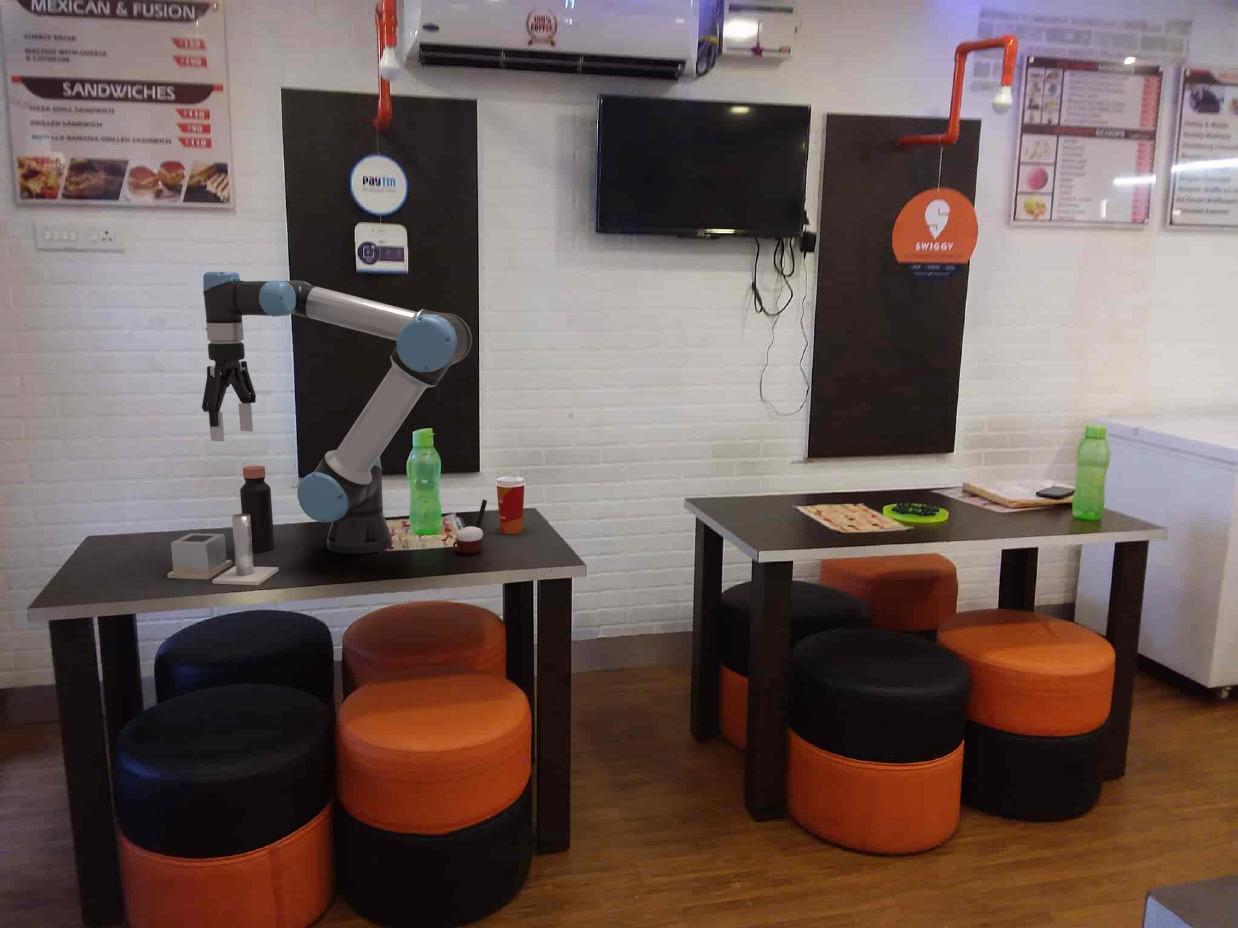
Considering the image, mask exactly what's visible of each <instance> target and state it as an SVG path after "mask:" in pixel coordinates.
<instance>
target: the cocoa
mask: <svg viewBox="0 0 1238 928" xmlns="http://www.w3.org/2000/svg"><path fill="white" fill-rule="evenodd" d="M487 503H488V499H487V500H486V499H482V501H481V505H480V509H479V512H478V517H477V520H476V523H475V526H466V527H463V528H462V529H459V530H458V531H456V533H455V541H454V542H453V544H452V547H453V549H454V551H456V552H458V553H460V554H463V555H468V556H469V555H475V554H477V553H478V552H480V551H481V549H482V545H483V536H484V532H483V529H481V527H482V523H483V518H484V515H485V511H486V508H487Z"/></svg>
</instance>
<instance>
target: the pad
mask: <svg viewBox="0 0 1238 928" xmlns="http://www.w3.org/2000/svg"><path fill="white" fill-rule="evenodd" d="M278 572H279V567H277V566H276V567H274V566H254V573H253V574H252V575H248V576H238V575H236V565H235V566H232V567H231V568H230V569H228V570H227V571H225V572H223V573H221V574H220V575H218V576H216V577H215V578H214V579H212V584H214V585H215V584H217V585H218V584H219V585H237V586H238V585H240V586H241V585H244V586H259V585H261V584H262V583H263V582H265V581H266V580H267V579H269V578H271V577H272V576H273V575H275V574H277V573H278Z"/></svg>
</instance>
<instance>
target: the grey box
mask: <svg viewBox="0 0 1238 928" xmlns="http://www.w3.org/2000/svg"><path fill="white" fill-rule="evenodd" d="M225 536H226V535H225V534H224V533H196V532H195V533H194V532H189V533H188V534H186V535H183V536H181V537H180V538H178V539H176V540H174V541H172V542H170V547H171V548H170V549H171V558H172V559H171V560H172V561H171V563H172V570H171V571H169V572H167V573H166V575H167V579H180V580H181V579H184V580H205V581H206V580H209V579H211V578H213V577H214V576H215V575H218V574H219V573H220V572H221V573H222V571H224V570H225V569H228V567H230V566H232V565H233V560H232V559H227V552H226V549H227V548H226V539H225V538H226V537H225Z"/></svg>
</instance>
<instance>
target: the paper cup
mask: <svg viewBox="0 0 1238 928" xmlns="http://www.w3.org/2000/svg"><path fill="white" fill-rule="evenodd" d="M526 484H527V483H526V482H525V479H524V478H523V477H521V476H517V477H516V476H502V477H501V476H500V477H497V480H496V482H495V486H496V493H497V494H496V496H497V506H498V507H497V508H498V521H499V530H500V533H501V534H503V535H508V536H509V535H510V536H511V535H518V534H521V533H522V531H523V525H524V519H523V518H524V500H525V485H526Z"/></svg>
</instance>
